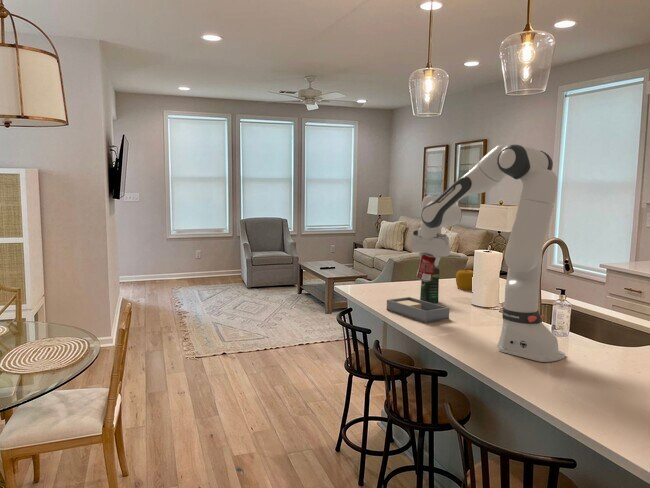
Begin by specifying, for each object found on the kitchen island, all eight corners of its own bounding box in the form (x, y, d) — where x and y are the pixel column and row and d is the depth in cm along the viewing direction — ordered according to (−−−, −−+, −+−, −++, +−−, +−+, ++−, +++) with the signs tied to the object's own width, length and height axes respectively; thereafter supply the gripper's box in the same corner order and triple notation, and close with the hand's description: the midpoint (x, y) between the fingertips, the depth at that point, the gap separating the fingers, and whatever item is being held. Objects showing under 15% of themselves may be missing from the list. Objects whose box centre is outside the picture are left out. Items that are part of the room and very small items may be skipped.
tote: (448, 319, 212) (449, 307, 211) (425, 323, 205) (426, 311, 204) (408, 307, 233) (409, 296, 233) (386, 310, 226) (386, 299, 226)
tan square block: (421, 310, 223) (421, 304, 223) (406, 312, 218) (406, 306, 218) (407, 306, 231) (408, 300, 230) (393, 308, 226) (393, 302, 226)
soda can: (431, 283, 212) (438, 258, 208) (415, 280, 213) (422, 254, 209) (431, 278, 218) (438, 253, 214) (416, 274, 219) (422, 249, 215)
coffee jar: (440, 305, 239) (442, 267, 238) (425, 305, 238) (427, 267, 236) (432, 300, 249) (433, 264, 247) (417, 301, 247) (419, 264, 245)
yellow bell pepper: (462, 289, 280) (463, 267, 279) (479, 292, 273) (480, 269, 271) (451, 291, 273) (452, 268, 272) (468, 295, 265) (469, 271, 264)
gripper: (454, 234, 204) (452, 267, 205) (420, 230, 221) (418, 261, 222) (443, 234, 200) (441, 268, 202) (409, 231, 218) (408, 262, 219)
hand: (429, 264), depth 212 cm, fingers closed on soda can, 6 cm apart
